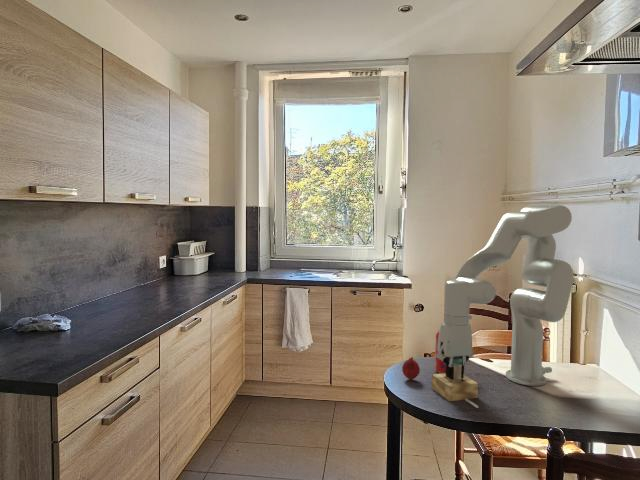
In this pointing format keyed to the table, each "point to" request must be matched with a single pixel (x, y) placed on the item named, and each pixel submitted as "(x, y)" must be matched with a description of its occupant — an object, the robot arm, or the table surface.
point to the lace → (471, 403)
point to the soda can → (439, 363)
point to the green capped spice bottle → (456, 369)
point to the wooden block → (454, 387)
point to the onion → (410, 368)
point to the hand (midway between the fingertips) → (454, 376)
